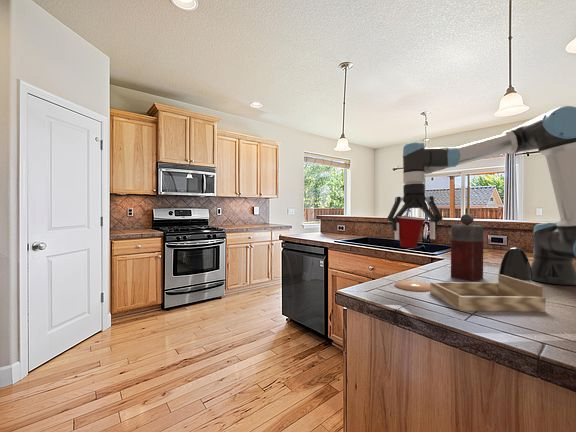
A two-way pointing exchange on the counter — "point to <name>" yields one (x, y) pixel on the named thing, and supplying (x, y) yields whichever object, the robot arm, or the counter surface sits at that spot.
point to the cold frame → (510, 290)
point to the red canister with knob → (467, 250)
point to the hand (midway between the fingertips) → (414, 239)
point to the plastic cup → (409, 231)
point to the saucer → (413, 285)
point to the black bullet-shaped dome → (516, 265)
